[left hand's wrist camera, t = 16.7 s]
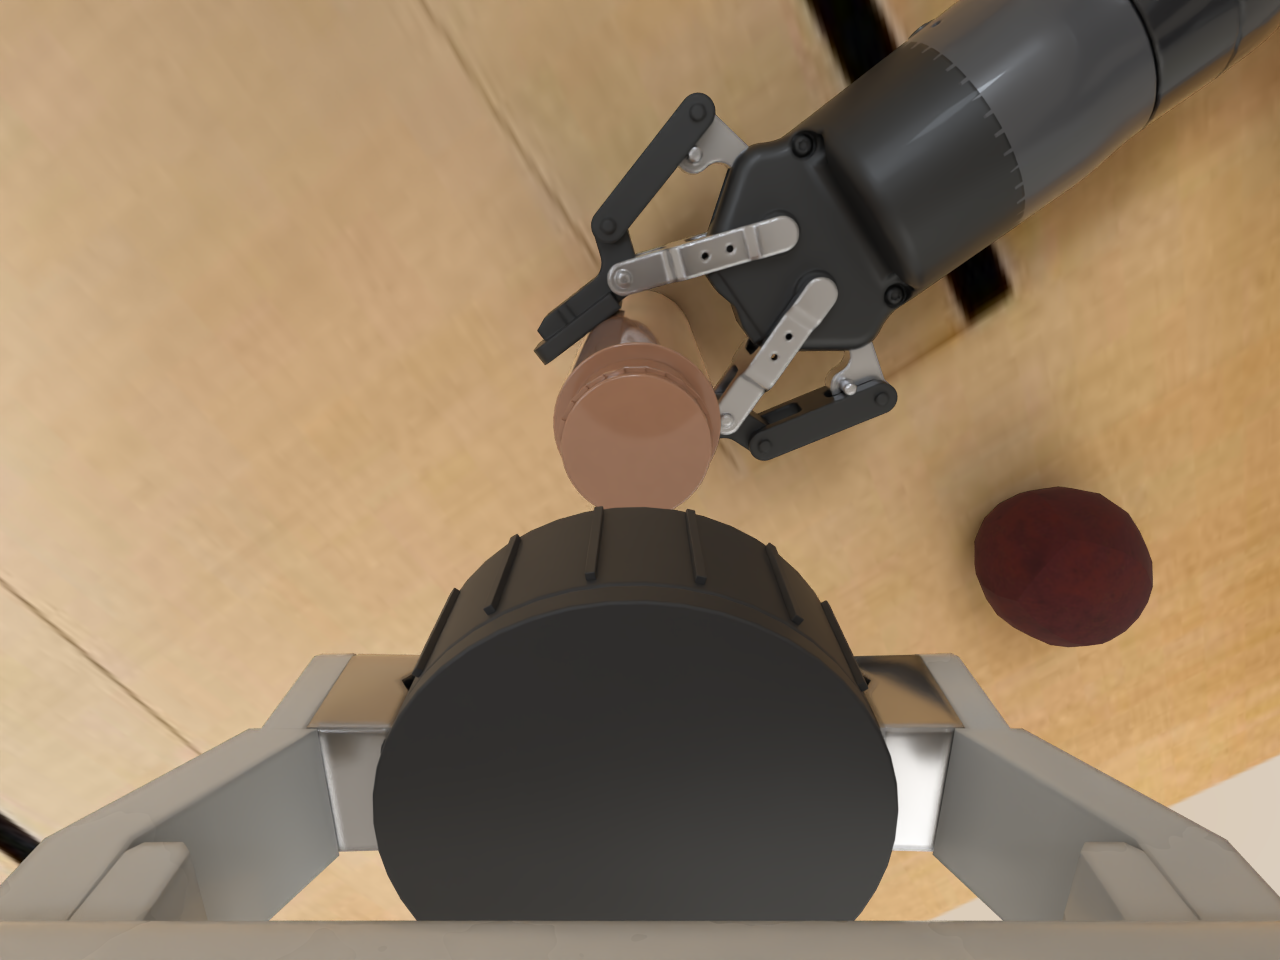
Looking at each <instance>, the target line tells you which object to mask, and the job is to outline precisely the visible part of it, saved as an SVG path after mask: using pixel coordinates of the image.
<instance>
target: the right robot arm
mask: <svg viewBox="0 0 1280 960" xmlns="http://www.w3.org/2000/svg"><path fill="white" fill-rule="evenodd" d="M1279 26H1280V0H959V1H958V2H956V3H955V4H954V5H952V6H951V7H950V8H949V9H947V10H946V11H945V12H943V13H942V14H941V15H940V16H938V17H937V18H936V19H933V20H931V21H930V22H928V23H925V24H924V25H922V26H921V27H920V28H918V29H917V30H916V31H915V32H914V33H913V34H912V35H911V36H910V37H909V39H908V40H907V41H906V42H905V43H903V44H902V45H901V46H900V47H898V48H897V49H896V50H895V51H893V52H892V53H891V54H889V55H888V56H887V57H885V58H884V59H883V60H882V61H880V62H879V63H878V64H876V65H875V66H874V67H873V68H871V69H870V70H869V71H867V72H866V73H865V74H864V75H862V76H861V77H860V78H858V79H857V80H856V81H855V82H853V83H852V84H851V85H849V86H848V87H847V88H846V89H844V90H843V91H842V92H840V93H839V94H838V95H837V96H835V97H834V98H833V99H831V100H830V101H829V102H827V103H826V104H825V105H824V106H822V107H821V108H820V109H818V110H817V111H816V112H815V113H813V114H812V115H811V116H809V117H808V118H807V119H806V120H804V121H803V122H802V123H800V124H799V125H798V126H797V127H795V128H794V129H793V130H791V131H790V132H789V133H787V134H786V135H785V136H783V137H782V138H780V139H778V140H775V141H771V142H765V143H757V144H754V145H751V146H749V147H748V146H747V145H746V144H745V143H744V142H743V141H742V140H741V139H740V138H739V137H738V136H737V135H736V134H735V133H734V132H733V131H732V130H731V129H730V128H729V127H728V126H727V125H726V124H725V123H724V122H723V121H722V120H721V119H720V118H718V117H717V116H716V115H715V106H714V103H713V101H712V100H711V98H709V97H708V96H707V95H705V94H703V93H693V94H691V95H689V96H688V97H686V98H685V99H684V101H683V102H682V103H681V105H680V106H679V107H678V108H677V110H676V111H675V112H674V114H673V115H672V116H671V117H670V119H669V120H668V121H667V123H666V124H665V125H664V126H663V128H662V129H661V130H660V131H659V133H658V134H657V135H656V137H655V138H654V139H653V140H652V142H651V143H650V144H649V146H648V147H647V148H646V149H645V151H644V152H643V153H642V155H641V156H640V157H639V158H638V160H637V161H636V162H635V164H634V165H633V166H632V167H631V169H630V170H629V171H628V173H627V174H626V175H625V176H624V178H623V179H622V180H621V181H620V183H619V184H618V185H617V187H616V188H615V189H614V190H613V192H612V193H611V194H610V196H609V197H608V198H607V199H606V201H605V202H604V203H603V205H602V206H601V207H600V208H599V210H598V211H597V212H596V214H595V215H594V216H593V219H592V222H591V229H592V232H593V235H594V236H595V239H596V243H597V246H598V249H599V253H600V256H601V262H602V263H601V270H600V272H599V274H598V275H597V276H596V277H595V278H594V279H592V280H591V281H590V282H588V283H587V284H586V285H585V286H583V287H582V288H581V289H579V290H578V291H577V292H576V293H574V294H573V295H572V296H570V297H569V298H568V299H567V300H565V301H564V302H563V303H561V304H560V305H559V306H558V307H556V308H555V309H554V310H552V311H551V312H550V313H549V314H548V315H547V316H546V317H545V318H544V320H543V322H542V323H541V325H540V327H539V329H538V330H537V331H538V332H539V334H540V335H541V336H542V338H543V339H544V340H543V341H541V342H540V343H539V344H538V345H537V347H536V348H535V349H534V352H535V353H536V354H537V356H538V357H539V358H540V359H541V361H542V362H543V363H544V365H546V364H548V363H549V362H551V361H552V360H553V359H555V358H556V357H557V356H559V355H560V354H561V353H563V352H564V351H565V350H567V349H568V348H569V347H571V346H572V345H573V344H575V343H576V342H577V341H578V340H580V339H581V338H582V337H584V336H585V335H586V334H588V333H589V332H590V331H592V330H593V329H594V328H595V327H596V326H598V325H599V324H600V323H602V322H603V321H605V320H606V319H607V318H609V317H610V316H611V315H613V314H614V313H615V312H617V311H618V310H619V309H621V307H622V302H623V301H622V300H623V299H624V298H625V297H627V296H628V295H631V294H634V293H638V292H641V291H645V290H648V289H652V288H655V287H658V286H662V285H665V284H669V283H673V282H679V281H684V280H687V279H691V278H694V277H698V276H701V275H705V276H706V277H707V278H708V280H709V281H710V283H711V284H712V286H713V287H714V288H715V289H716V291H717V292H718V293H719V294H721V295H722V296H723V297H724V298H725V299H726V300H728V301H729V302H730V303H731V306H732V309H733V312H734V315H735V318H736V321H737V322H738V323H739V325H740V326H741V328H742V329H743V331H744V332H745V334H746V335H747V337H746V338H745V340H744V341H743V343H742V344H741V346H740V347H739V348H738V350H737V351H736V353H735V355H734V357H733V359H732V362H731V364H730V366H729V367H728V369H727V370H726V372H725V373H724V375H723V376H722V378H721V379H720V380H719V382H718V383H717V385H716V386H715V388H714V392H715V395H716V397H717V400H718V404H719V409H720V415H721V430H720V438H729V439H732V440H734V441H736V442H737V443H739V444H740V445H742V446H743V447H745V448H746V449H748V450H749V451H750V452H751V454H752V455H753V456H754V457H755V458H756V459H758V460H762V461H766V460H770V459H773V458H775V457H777V456H780V455H782V454H785V453H787V452H790V451H792V450H795V449H797V448H800V447H802V446H805V445H807V444H810V443H812V442H815V441H817V440H820V439H822V438H825V437H827V436H830V435H832V434H835V433H837V432H840V431H842V430H845V429H847V428H849V427H852V426H854V425H857V424H859V423H862V422H864V421H867V420H869V419H872V418H874V417H877V416H879V415H882V414H884V413H887V412H889V411H890V410H891V409H892V408H893V407H894V406H895V404H896V402H897V392H896V390H895V389H894V387H892V386H891V385H890V384H889V383H888V382H887V381H886V380H885V379H884V377H883V374H882V371H881V368H880V365H879V362H878V359H877V355H876V352H875V349H874V346H873V343H872V341H873V340H874V339H875V338H876V336H877V335H878V333H879V332H880V330H881V328H882V326H883V324H884V323H885V321H886V320H887V318H888V317H889V316H890V315H891V314H892V313H893V312H894V311H895V310H896V309H897V308H898V307H900V306H901V305H903V304H904V303H906V302H908V301H909V300H911V299H912V298H914V297H915V296H917V295H918V294H920V293H921V292H922V291H924V290H925V289H927V288H928V287H930V286H931V285H932V284H934V283H935V282H937V281H938V280H940V279H941V278H942V277H944V276H945V275H947V274H948V273H950V272H951V271H952V270H954V269H955V268H957V267H958V266H960V265H961V264H963V263H964V262H965V261H967V260H968V259H970V258H971V257H973V256H974V255H975V254H977V253H978V252H980V251H981V250H983V249H984V248H985V247H987V246H989V245H990V244H991V243H993V242H994V241H996V240H997V239H999V238H1000V237H1001V236H1003V235H1004V234H1006V233H1007V232H1009V231H1010V230H1012V229H1013V228H1014V227H1016V226H1017V225H1019V224H1020V223H1021V222H1023V221H1024V220H1026V219H1027V218H1029V217H1030V216H1032V215H1033V214H1035V213H1036V212H1037V211H1039V210H1040V209H1042V208H1043V207H1045V206H1046V205H1047V204H1049V203H1050V202H1052V201H1053V200H1055V199H1056V198H1057V197H1059V196H1060V195H1062V194H1063V193H1065V192H1066V191H1067V190H1069V189H1070V188H1072V187H1073V186H1074V185H1076V184H1077V183H1078V182H1080V181H1081V180H1082V179H1084V178H1085V177H1086V176H1088V175H1089V174H1090V173H1091V172H1092V171H1094V170H1095V169H1096V168H1097V167H1098V166H1099V165H1100V164H1102V163H1103V162H1104V161H1105V160H1106V159H1107V158H1108V157H1109V156H1110V155H1111V154H1112V153H1114V152H1115V151H1116V150H1117V149H1118V148H1119V147H1120V146H1122V145H1123V144H1124V143H1125V142H1126V141H1128V140H1129V139H1130V138H1132V137H1133V136H1134V135H1136V134H1137V133H1138V132H1139V131H1140V130H1142V129H1144V128H1145V127H1147V126H1148V125H1150V124H1151V123H1153V122H1154V121H1155V120H1157V119H1158V118H1160V117H1161V116H1163V115H1164V114H1166V113H1167V112H1168V111H1170V110H1171V109H1173V108H1174V107H1176V106H1177V105H1178V104H1180V103H1181V102H1183V101H1184V100H1186V99H1187V98H1188V97H1190V96H1191V95H1193V94H1194V93H1196V92H1197V91H1198V90H1200V89H1201V88H1203V87H1204V86H1206V85H1207V84H1208V83H1210V82H1211V81H1213V80H1214V79H1216V78H1217V77H1218V76H1220V75H1221V74H1222V73H1224V72H1225V71H1227V70H1228V69H1229V68H1231V67H1232V66H1233V65H1235V64H1236V63H1238V62H1239V61H1240V60H1241V59H1243V58H1244V57H1245V56H1247V55H1248V54H1249V53H1251V52H1252V51H1253V50H1255V49H1256V48H1257V47H1258V46H1259V45H1261V44H1262V43H1263V42H1264V41H1265V40H1266V39H1267V38H1269V37H1270V36H1271V35H1272V34H1273V33H1274V32H1275V31H1276V30H1277V29H1278V27H1279ZM711 164H721V165H724V166H725V167H727V168H728V170H727V173H726V176H725V180H724V183H723V186H722V189H721V192H720V195H719V198H718V201H717V204H716V207H715V210H714V213H713V216H712V219H711V222H710V225H709V228H708V231H707V232H705V233H701V234H698V235H695V236H691V237H688V238H684V239H681V240H678V241H674V242H671V243H668V244H665V245H663V246H660V247H657V248H653V249H650V250H647V251H643V252H640V253H636V254H635V252H634V249H633V245H632V242H631V238H630V235H629V231H628V228H629V227H630V226H631V224H632V223H633V222H634V221H635V219H636V218H637V217H638V216H639V214H640V213H641V212H642V211H643V209H644V208H645V207H646V206H647V204H648V203H649V202H650V201H651V199H652V198H653V197H654V196H655V194H656V193H657V192H658V191H659V189H660V188H661V187H662V186H663V184H664V183H665V182H666V181H667V179H668V178H669V177H670V176H671V174H672V173H673V172H674V171H675V169H676V168H677V167H678V168H679V169H680V170H681V171H683V172H684V173H686V174H690V175H694V174H698V173H700V172H702V171H703V170H704V169H705V168H707V167H708V166H709V165H711ZM798 351H844V357H843V359H842V361H841V362H840V363H839V364H838V365H837V366H836V367H834V368H832V369H831V370H830V371H829V372H828V374H827V376H826V378H825V385H826V386H823V387H821V388H819V389H816V390H814V391H811V392H809V393H806V394H804V395H802V396H799V397H797V398H794V399H792V400H790V401H787V402H785V403H782V404H780V405H777V406H775V407H773V408H770V409H768V410H765V411H763V412H760V413H758V414H757V413H755V412H754V411H752V409H753V408H754V406H755V405H756V403H757V402H758V401H759V399H760V398H761V396H762V395H763V394H764V393H765V392H767V391H768V390H770V389H771V388H772V387H773V385H774V384H775V383H776V381H777V380H778V379H779V377H780V376H781V374H782V373H783V372H784V370H785V369H786V367H787V366H788V365H789V363H790V362H791V360H792V359H793V358H794V356H795V355H796V353H797V352H798ZM773 354H775V357H774V358H771V356H772V355H773Z"/></svg>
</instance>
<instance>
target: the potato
mask: <svg viewBox="0 0 1280 960" xmlns="http://www.w3.org/2000/svg"><path fill="white" fill-rule="evenodd" d="M975 570H976V575H977V578H978V580H979V582H980V585H981V587H982V590H983V592H984V595H985V597H986V599H987V601H988V602H989V603H990V605H991V606H992V608H993V609H994V611H995V612H996V614H997V615H998V616H1000V617H1001V618H1002V619H1003V620H1005V621H1006V622H1007V623H1009V624H1010V625H1011V626H1013V627H1014V628H1016V629H1018V630H1020V631H1022V632H1024V633H1026V634H1027V635H1029V636H1031V637H1034V638H1036V639H1038V640H1040V641H1043V642H1045V643H1047V644H1049V645H1055V646H1063V647H1078V646H1089V645H1096V644H1103V643H1105V642H1107V641H1110V640H1112V639H1113V638H1115V637H1117V636H1118V635H1120V634H1122V633H1123V632H1125V631H1126V630H1127V629H1128V628H1129V627H1130V626H1131V625H1132V624H1133V623H1134V622H1135V621H1136V620H1137V619H1138V618H1139V616H1140V615H1141V613H1142V611H1143V610H1144V608H1145V606H1146V604H1147V603H1148V600H1149V597H1150V594H1151V591H1152V587H1153V573H1152V560H1151V558H1150V555H1149V552H1148V549H1147V547H1146V544H1145V542H1144V540H1143V538H1142V536H1141V533H1140V531H1139V530H1138V528H1137V526H1136V525H1135V523H1134V522H1133V520H1132V518H1131V517H1130V515H1129V514H1128V513H1127V512H1126V511H1124V510H1123V509H1122V508H1120V507H1119V506H1117V505H1116V504H1114V503H1113V502H1111V501H1110V500H1108V499H1107V498H1105V497H1104V496H1102V495H1101V494H1099V493H1093V492H1088V491H1083V490H1078V489H1072V488H1065V487H1052V488H1045V489H1039V490H1032V491H1027V492H1023V493H1019V494H1017V495H1015V496H1013V497H1011V498H1009V499H1007V500H1005V501H1003V502H1001V503H999V504H998V505H997V506H996V507H995V508H994V509H993V510H992V511H991V512H990V513H989V514H988V515H987V516H986V517H985V518H984V520H983V523H982V525H981V527H980V529H979V532H978V534H977V536H976V539H975Z"/></svg>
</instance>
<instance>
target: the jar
mask: <svg viewBox="0 0 1280 960" xmlns="http://www.w3.org/2000/svg"><path fill="white" fill-rule="evenodd" d="M622 301H623V302H622V307H621V309H619V310H618V311H617V312H615V313H614V314H613V315H611V316H610V317H609V318H607V319H606V320H605V321H603V322H602V323H600V324H599V325H598V326H596V327H595V328H594V329H593V330H592V331H590V332H589V333H588V334H586V335H585V337H584V339H583V341H582V344H581V346H580V348H579V350H578V352H577V355H576V357H575V359H574V361H573V364H572V366H571V368H570V370H569V372H568V375H567V377H566V379H565V381H564V384H563V386H562V388H561V390H560V393H559V395H558V398H557V401H556V405H555V410H554V420H553V428H554V435H555V440H556V444H557V448H558V450H559V453H560V455H561V457H562V460H563V464H564V468H565V470H566V473H567V475H568V477H569V479H570V481H571V482H572V484H573V485H574V487H575V488H576V489H577V491H578V492H579V493H580V494H581V495H582V496H583V497H584V498H585V499H586V500H588V501H589V502H590V503H592V504H593V505H594V506H596V507H599V506H603V509H609V508H622V507H651V508H661V509H674V508H676V507H677V506H679V505H680V504H682V503H683V502H684V501H686V500H687V499H688V498H689V497H690V496H691V495H692V494H693V493H694V492H695V491H696V490H697V488H698V487H699V485H700V484H701V483H702V481H703V479H704V477H705V475H706V473H707V470H708V467H709V464H710V462H711V460H712V458H713V456H714V454H715V452H716V449H717V446H718V442H719V438H720V430H721V415H720V409H719V404H718V400H717V397H716V395H715V392H714V389H713V386H712V384H711V381H710V378H709V376H708V373H707V370H706V368H705V365H704V362H703V360H702V357H701V354H700V351H699V349H698V346H697V343H696V341H695V338H694V335H693V333H692V330H691V327H690V325H689V322H688V320H687V318H686V316H685V314H684V313H683V311H682V310H681V309H680V308H679V306H678V305H677V304H676V303H674V302H673V301H672V300H671V299H669V298H668V297H666V296H664V295H662V294H660V293H657V292H654V291H650V290H645V291H641V292H638V293H634V294H631V295H628V296H627V297H625V298H624V299H623V300H622Z"/></svg>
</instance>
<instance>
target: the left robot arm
mask: <svg viewBox="0 0 1280 960" xmlns="http://www.w3.org/2000/svg"><path fill="white" fill-rule="evenodd" d="M419 657H420V655H391V654H358V655H356V654H354V653H351V654H320V655H317V656H314V657H313V659H312V660H311V661H310V662H309V664H308V665H307V667H306V668H305V669H304V671H303V672H302V673H301V675H300V676H299V677H298V679H297V680H296V682H295V683H294V684H293V686H292V687H291V688H290V690H289V691H288V692H287V694H286V695H285V697H284V698H283V699H282V701H281V702H280V703H279V705H278V706H277V707H276V709H275V710H274V712H273V713H272V714H271V716H270V717H269V718H268V720H267V721H266V722H265V724H264V725H263V726H262V728H261V729H248V730H246V731H244V732H242V733H240V734H238V735H236V736H235V737H233V738H231V739H229V740H227V741H225V742H223V743H222V744H220V745H218V746H216V747H214V748H212V749H210V750H209V751H207V752H205V753H203V754H201V755H199V756H197V757H195V758H194V759H192V760H190V761H188V762H186V763H184V764H182V765H181V766H179V767H177V768H175V769H173V770H171V771H169V772H168V773H166V774H164V775H162V776H160V777H158V778H156V779H155V780H153V781H151V782H149V783H147V784H145V785H143V786H142V787H140V788H138V789H136V790H134V791H132V792H130V793H128V794H127V795H125V796H123V797H121V798H119V799H117V800H115V801H114V802H112V803H110V804H108V805H106V806H104V807H102V808H101V809H99V810H97V811H95V812H93V813H91V814H89V815H88V816H86V817H84V818H82V819H80V820H78V821H76V822H74V823H73V824H71V825H69V826H67V827H65V828H63V829H61V830H60V831H58V832H56V833H54V834H52V835H50V836H48V837H47V838H45V839H44V840H43V841H42V842H41V843H40V844H39V845H38V846H37V847H36V848H35V849H34V850H33V851H32V852H31V853H30V854H29V856H28V857H27V858H26V859H25V860H24V861H23V862H22V863H21V864H20V865H19V866H18V867H17V868H16V869H15V870H14V871H13V872H12V873H11V874H10V876H9V877H8V878H7V879H6V880H5V881H4V882H3V883H2V884H1V885H0V960H1280V897H1279V896H1278V895H1277V894H1276V893H1275V891H1274V890H1273V889H1272V888H1271V887H1270V886H1269V885H1268V884H1267V883H1266V882H1265V881H1264V880H1263V878H1262V877H1261V876H1260V875H1259V874H1258V873H1257V872H1256V871H1255V870H1254V869H1253V868H1252V867H1251V865H1250V864H1249V863H1248V862H1247V861H1246V860H1245V859H1244V858H1243V857H1242V856H1241V855H1240V854H1239V853H1238V851H1237V850H1236V849H1235V848H1234V847H1233V846H1232V845H1231V844H1230V843H1229V842H1228V841H1227V840H1226V839H1224V838H1222V837H1221V836H1219V835H1217V834H1215V833H1213V832H1211V831H1210V830H1208V829H1206V828H1204V827H1202V826H1200V825H1199V824H1197V823H1195V822H1193V821H1191V820H1189V819H1188V818H1186V817H1184V816H1182V815H1180V814H1178V813H1176V812H1175V811H1173V810H1171V809H1169V808H1167V807H1165V806H1164V805H1162V804H1160V803H1158V802H1156V801H1154V800H1153V799H1151V798H1149V797H1147V796H1145V795H1143V794H1142V793H1140V792H1138V791H1136V790H1134V789H1132V788H1131V787H1129V786H1127V785H1125V784H1123V783H1121V782H1120V781H1118V780H1116V779H1114V778H1112V777H1110V776H1109V775H1107V774H1105V773H1103V772H1101V771H1099V770H1098V769H1096V768H1094V767H1092V766H1090V765H1088V764H1086V763H1085V762H1083V761H1081V760H1079V759H1077V758H1075V757H1074V756H1072V755H1070V754H1068V753H1066V752H1064V751H1063V750H1061V749H1059V748H1057V747H1055V746H1053V745H1052V744H1050V743H1048V742H1046V741H1044V740H1042V739H1041V738H1039V737H1037V736H1035V735H1033V734H1031V733H1030V732H1028V731H1026V730H1024V729H1011V728H1010V727H1009V726H1008V724H1007V723H1006V721H1005V720H1004V719H1003V717H1002V716H1001V714H1000V713H999V712H998V710H997V709H996V708H995V706H994V705H993V703H992V702H991V701H990V699H989V698H988V697H987V695H986V694H985V692H984V691H983V690H982V688H981V687H980V685H979V684H978V683H977V681H976V680H975V679H974V677H973V676H972V674H971V673H970V672H969V670H968V669H967V668H966V666H965V665H964V663H963V662H962V661H961V659H960V658H959V657H958V656H956V655H954V654H952V653H940V654H915V655H885V656H854V658H855V660H856V662H857V664H858V666H859V669H860V671H861V673H862V675H863V677H864V679H865V681H866V683H867V685H868V688H869V689H867V690H865V691H863V693H864V695H865V697H866V700H867V702H868V704H869V706H870V709H871V711H872V713H873V715H874V717H875V719H876V721H877V724H878V726H879V728H880V730H881V733H882V735H883V738H884V740H885V743H886V745H887V747H888V750H889V752H890V755H891V758H892V763H893V767H894V772H895V776H896V780H897V790H898V810H899V811H898V820H897V828H896V837H895V842H894V845H893V849H892V850H898V851H933V855H934V856H935V857H936V858H937V859H938V860H939V861H940V862H941V863H942V864H943V865H944V866H945V867H946V868H948V869H949V870H950V871H951V872H952V873H953V874H954V875H955V876H956V877H957V878H958V879H959V880H960V881H961V882H962V883H964V884H965V885H966V886H967V887H968V888H969V889H970V890H971V891H972V892H973V893H974V894H975V895H976V896H977V897H978V898H979V899H981V900H982V901H983V902H984V903H985V904H986V905H987V906H988V907H989V908H990V909H991V910H992V911H993V912H994V913H996V914H997V915H998V916H999V917H1000V918H1001V919H1002V920H1003V921H269V920H270V919H271V918H272V917H273V916H274V915H275V914H276V913H277V912H279V911H280V910H281V909H282V908H283V907H284V906H285V905H286V904H287V903H288V902H289V901H290V900H292V899H293V898H294V897H295V896H296V895H297V894H298V893H299V892H300V891H301V890H302V889H303V888H304V887H306V886H307V885H308V884H309V883H310V882H311V881H312V880H313V879H314V878H315V877H316V876H317V875H319V874H320V873H321V872H322V871H323V870H324V869H325V868H326V867H327V866H328V865H329V864H330V863H331V862H333V861H334V860H335V859H336V858H337V857H338V856H339V851H373V850H378V845H377V840H376V835H375V830H374V824H373V788H374V781H375V774H376V767H377V764H378V761H379V758H380V755H381V753H380V752H381V746H382V743H383V742H385V740H386V738H387V736H388V733H389V731H390V729H391V727H392V725H393V723H394V721H395V719H396V717H397V715H398V712H399V710H400V708H401V706H402V704H403V702H404V700H405V698H406V696H407V693H408V691H409V689H410V687H411V685H412V683H413V681H414V679H415V677H416V676H414V675H412V671H413V669H414V667H415V665H416V663H417V661H418V659H419Z"/></svg>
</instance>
